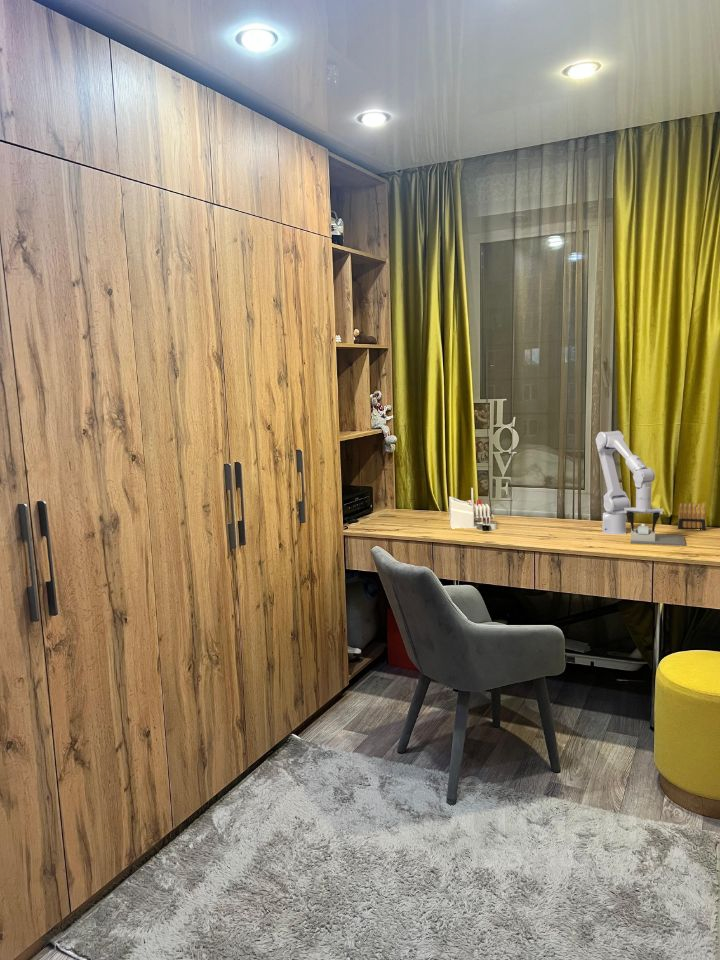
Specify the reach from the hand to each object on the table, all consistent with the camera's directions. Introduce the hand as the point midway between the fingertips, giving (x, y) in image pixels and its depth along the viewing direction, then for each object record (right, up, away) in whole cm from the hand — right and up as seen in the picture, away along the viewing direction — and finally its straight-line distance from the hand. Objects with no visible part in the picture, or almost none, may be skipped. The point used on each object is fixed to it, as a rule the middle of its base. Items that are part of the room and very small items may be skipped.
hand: (642, 530), depth 282 cm
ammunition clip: (+27, -1, +15) cm, 31 cm away
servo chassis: (+5, -4, -2) cm, 7 cm away
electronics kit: (-63, 0, +49) cm, 80 cm away
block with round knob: (0, -3, 0) cm, 3 cm away
